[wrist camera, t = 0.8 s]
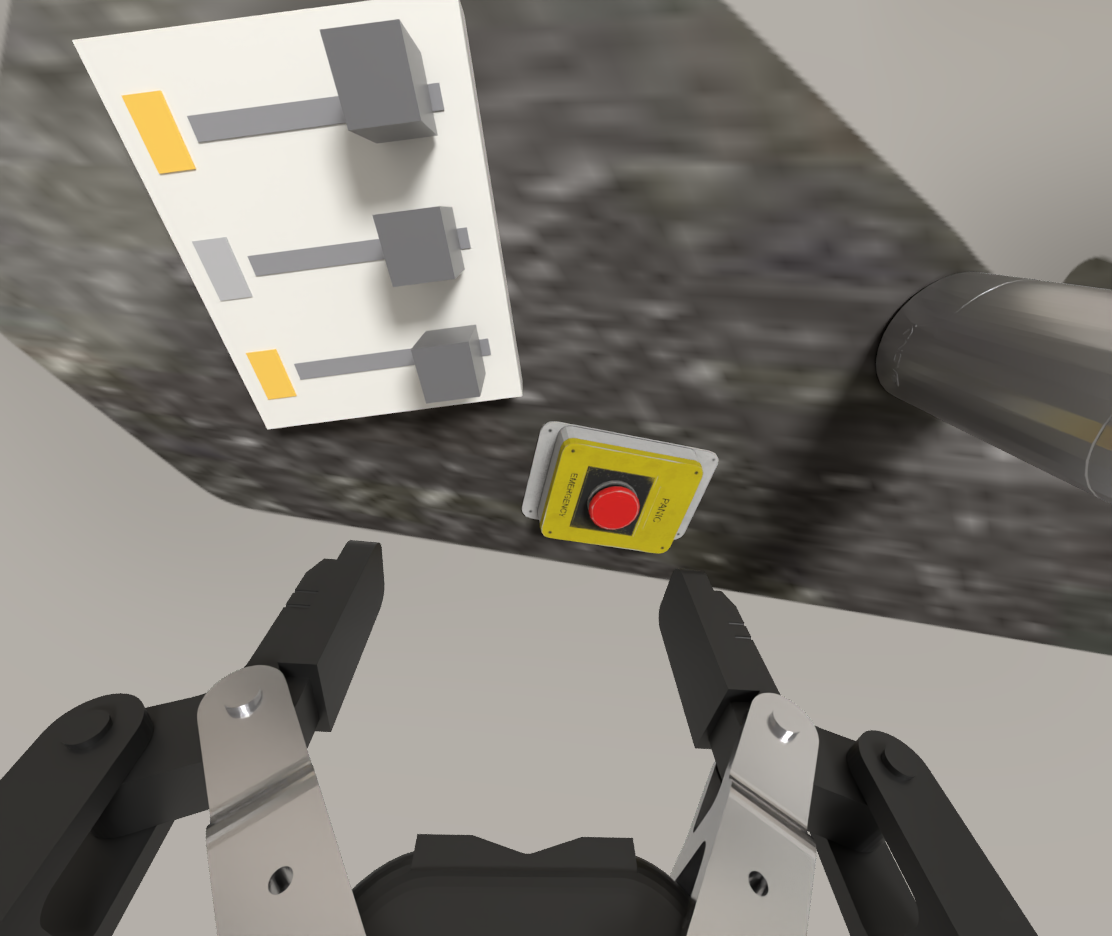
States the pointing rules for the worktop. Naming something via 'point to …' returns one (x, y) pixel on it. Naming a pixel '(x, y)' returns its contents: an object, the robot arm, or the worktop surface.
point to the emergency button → (614, 487)
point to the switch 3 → (449, 364)
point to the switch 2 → (420, 245)
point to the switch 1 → (380, 81)
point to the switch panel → (311, 202)
